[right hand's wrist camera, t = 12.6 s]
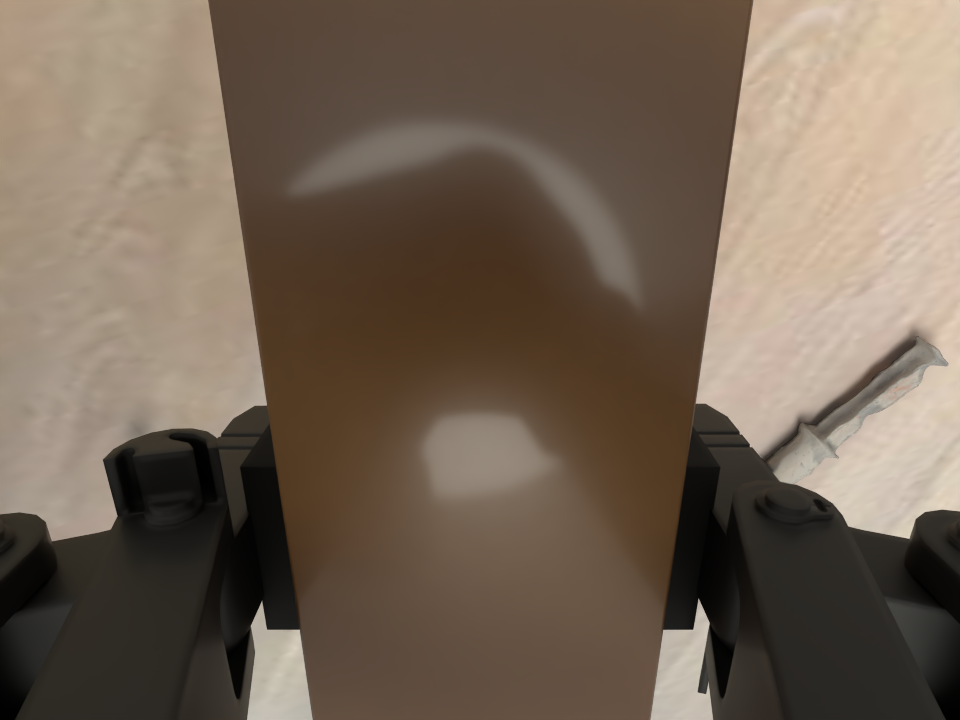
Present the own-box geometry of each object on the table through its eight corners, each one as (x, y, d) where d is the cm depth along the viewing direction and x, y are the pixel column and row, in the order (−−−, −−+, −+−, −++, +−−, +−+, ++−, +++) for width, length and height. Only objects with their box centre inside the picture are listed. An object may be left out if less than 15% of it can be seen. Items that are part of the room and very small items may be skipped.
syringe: (677, 560, 52) (687, 583, 50) (648, 535, 51) (657, 557, 49) (938, 362, 46) (965, 377, 43) (910, 329, 45) (936, 343, 42)
